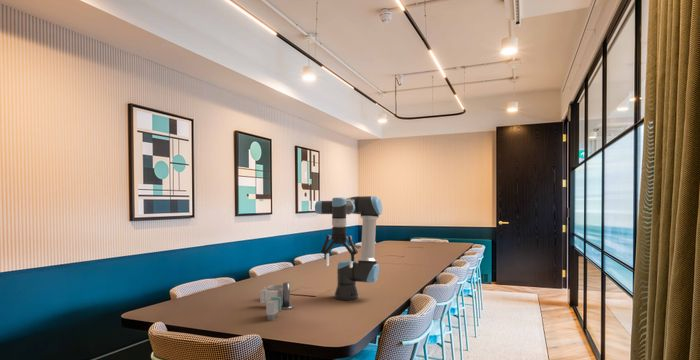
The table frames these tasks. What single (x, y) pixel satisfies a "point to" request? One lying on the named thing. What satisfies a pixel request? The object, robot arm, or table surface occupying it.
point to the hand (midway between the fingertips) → (339, 266)
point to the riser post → (286, 296)
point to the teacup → (274, 287)
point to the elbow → (270, 295)
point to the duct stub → (273, 307)
